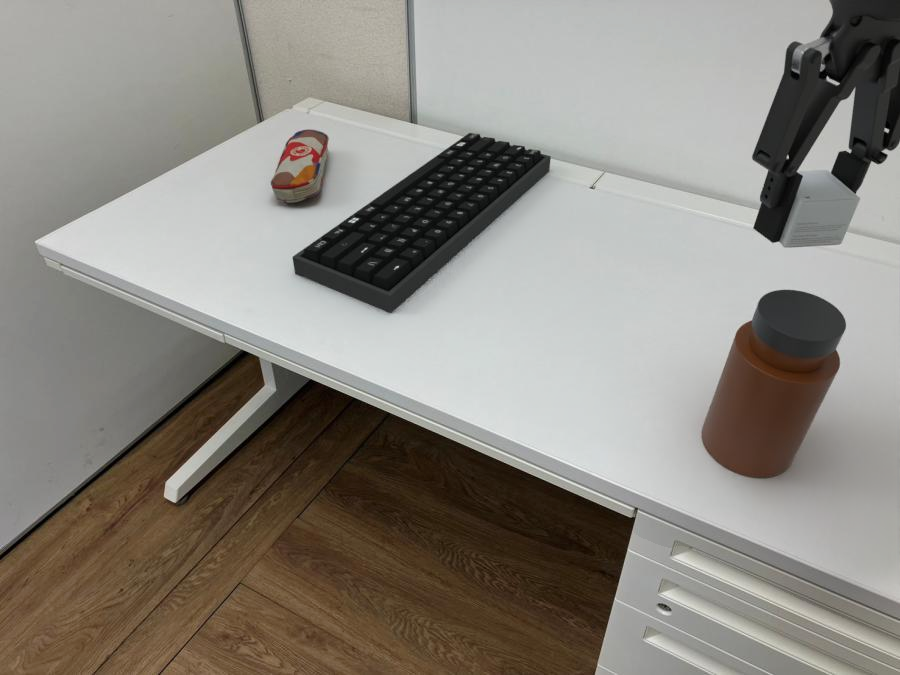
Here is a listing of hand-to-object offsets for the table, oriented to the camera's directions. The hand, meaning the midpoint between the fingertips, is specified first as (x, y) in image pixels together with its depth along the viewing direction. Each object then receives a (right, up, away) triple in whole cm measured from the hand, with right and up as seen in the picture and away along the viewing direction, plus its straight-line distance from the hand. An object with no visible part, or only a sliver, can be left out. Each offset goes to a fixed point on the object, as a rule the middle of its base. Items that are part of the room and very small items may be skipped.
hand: (797, 227), depth 65 cm
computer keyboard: (-35, +8, +40) cm, 54 cm away
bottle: (-2, -21, +7) cm, 22 cm away
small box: (0, -1, 0) cm, 1 cm away
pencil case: (-56, +16, +49) cm, 77 cm away
